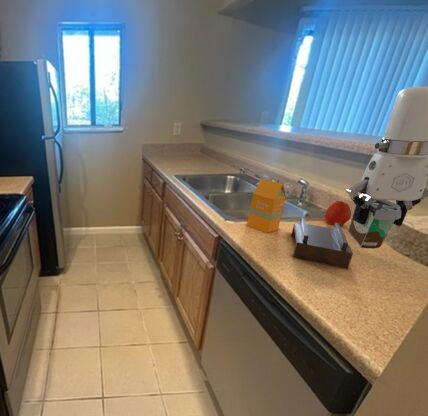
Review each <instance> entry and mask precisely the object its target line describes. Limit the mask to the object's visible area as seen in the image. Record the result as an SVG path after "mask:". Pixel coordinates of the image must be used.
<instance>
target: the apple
mask: <svg viewBox="0 0 428 416" xmlns="http://www.w3.org/2000/svg"><path fill="white" fill-rule="evenodd" d="M324 218H325V222H326V223H327V224H329V225H331V226H334V224H335V223H339V225H340V227H341V226H343V225H345V224H346V223H347V222H349V221H350V219H352V210H351V207H350V205H349V204H348V203H347V202H346V201H343V200H337V201H334V202H332V203H331V204H330V205H329V206H328V207H327V209H326V210H325V213H324Z"/></svg>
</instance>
